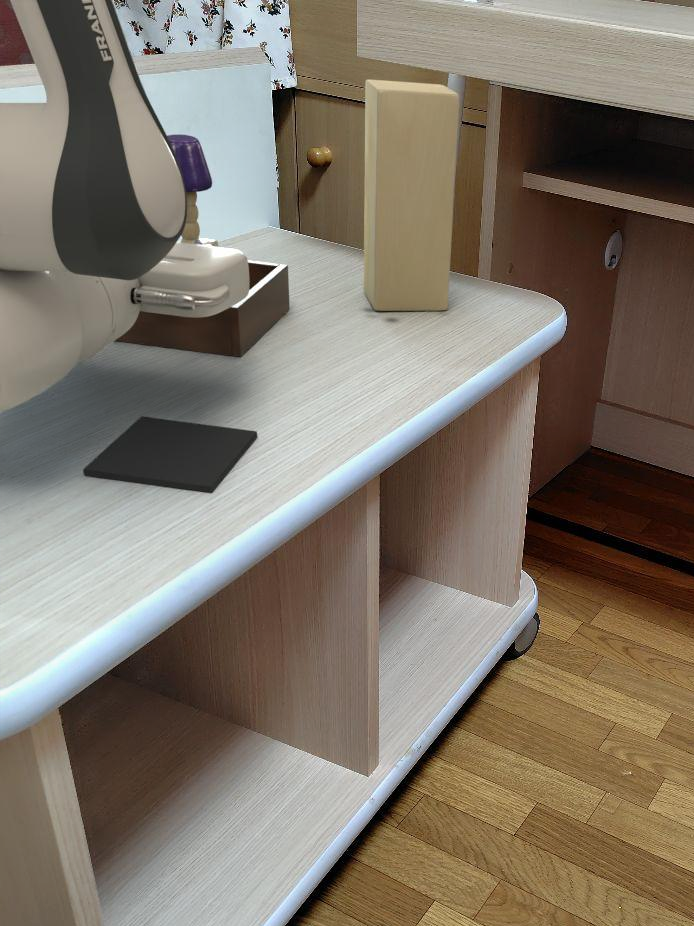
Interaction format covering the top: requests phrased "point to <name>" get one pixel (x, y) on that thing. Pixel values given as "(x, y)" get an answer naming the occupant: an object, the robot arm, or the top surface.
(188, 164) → the toy lamp
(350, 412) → the top surface
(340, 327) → the top surface
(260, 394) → the top surface
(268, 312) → the crate
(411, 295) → the tall wooden block
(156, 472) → the pad
